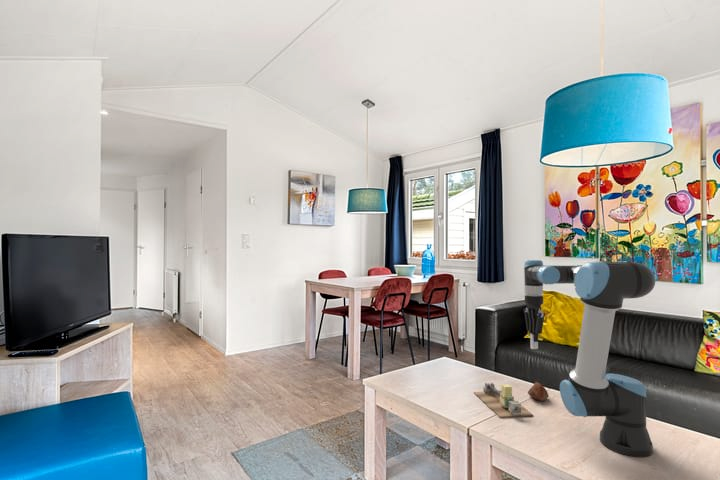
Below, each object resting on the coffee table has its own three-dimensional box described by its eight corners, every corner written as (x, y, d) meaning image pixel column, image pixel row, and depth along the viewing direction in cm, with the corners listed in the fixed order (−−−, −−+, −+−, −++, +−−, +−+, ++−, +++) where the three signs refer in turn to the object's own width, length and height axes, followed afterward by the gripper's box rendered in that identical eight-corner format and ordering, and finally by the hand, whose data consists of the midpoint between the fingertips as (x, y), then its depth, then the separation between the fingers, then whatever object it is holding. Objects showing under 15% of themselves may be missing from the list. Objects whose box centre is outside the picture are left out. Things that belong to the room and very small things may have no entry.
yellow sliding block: (513, 407, 164) (513, 387, 164) (504, 407, 163) (504, 387, 163) (509, 403, 168) (509, 383, 168) (499, 403, 167) (499, 384, 167)
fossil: (539, 398, 168) (533, 374, 174) (522, 401, 174) (517, 378, 179) (555, 403, 174) (550, 380, 180) (538, 406, 180) (533, 383, 185)
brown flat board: (533, 416, 158) (533, 403, 158) (499, 418, 157) (499, 404, 157) (502, 392, 184) (502, 380, 184) (473, 393, 182) (473, 381, 182)
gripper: (550, 296, 169) (551, 352, 168) (532, 293, 181) (533, 344, 181) (534, 296, 167) (535, 352, 167) (517, 293, 180) (518, 345, 180)
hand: (534, 348), depth 174 cm, fingers closed
